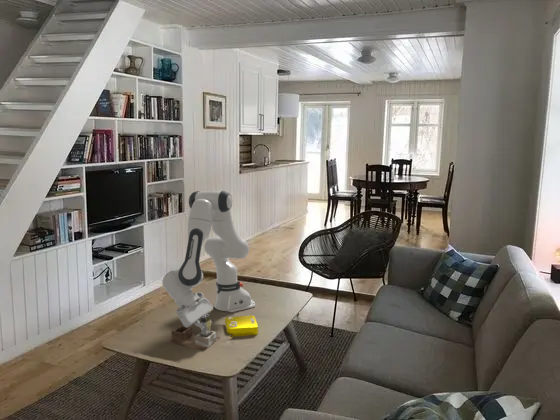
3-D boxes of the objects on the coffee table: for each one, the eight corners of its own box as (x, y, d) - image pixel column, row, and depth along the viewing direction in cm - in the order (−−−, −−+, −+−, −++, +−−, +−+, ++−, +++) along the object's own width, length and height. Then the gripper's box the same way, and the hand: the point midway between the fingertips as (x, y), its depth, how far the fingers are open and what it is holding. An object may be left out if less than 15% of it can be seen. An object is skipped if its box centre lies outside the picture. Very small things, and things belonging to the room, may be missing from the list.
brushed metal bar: (206, 337, 214) (205, 314, 212) (211, 338, 213) (210, 315, 212) (201, 340, 211) (201, 317, 209) (206, 341, 210) (205, 318, 208)
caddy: (184, 333, 225) (184, 322, 224) (220, 340, 218) (220, 329, 217) (166, 345, 212) (166, 334, 211) (204, 353, 205) (204, 341, 204)
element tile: (258, 335, 224) (258, 325, 223) (227, 337, 221) (227, 328, 220) (254, 322, 239) (254, 313, 238) (224, 325, 236) (224, 316, 235)
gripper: (178, 306, 202) (199, 331, 200) (203, 291, 221) (222, 314, 219) (170, 314, 204) (190, 339, 202) (196, 299, 223) (214, 321, 221)
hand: (207, 326), depth 211 cm, fingers closed on brushed metal bar, 4 cm apart
